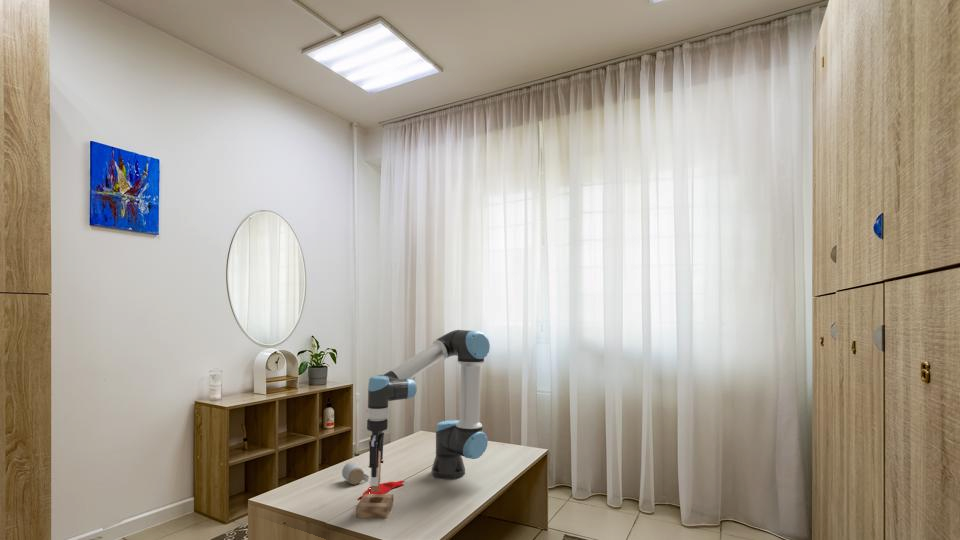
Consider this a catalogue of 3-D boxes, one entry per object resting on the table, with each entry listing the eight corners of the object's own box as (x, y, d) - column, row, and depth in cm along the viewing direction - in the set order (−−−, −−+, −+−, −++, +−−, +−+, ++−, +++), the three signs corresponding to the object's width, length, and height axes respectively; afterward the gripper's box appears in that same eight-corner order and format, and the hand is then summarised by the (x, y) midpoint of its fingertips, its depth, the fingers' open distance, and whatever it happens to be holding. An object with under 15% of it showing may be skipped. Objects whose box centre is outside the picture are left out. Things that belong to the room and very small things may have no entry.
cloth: (400, 479, 210) (400, 473, 210) (417, 488, 200) (417, 482, 200) (344, 494, 193) (344, 488, 193) (360, 504, 183) (360, 498, 183)
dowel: (380, 489, 177) (381, 450, 179) (378, 492, 174) (379, 453, 176) (372, 489, 178) (373, 450, 179) (370, 492, 175) (371, 452, 176)
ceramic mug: (348, 487, 199) (349, 468, 199) (341, 481, 205) (342, 462, 206) (372, 482, 205) (373, 464, 205) (364, 476, 211) (365, 458, 212)
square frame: (393, 505, 181) (393, 494, 181) (386, 518, 170) (387, 506, 170) (364, 504, 181) (364, 493, 182) (356, 517, 170) (356, 505, 171)
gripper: (373, 413, 186) (371, 475, 184) (361, 423, 170) (359, 491, 168) (392, 414, 186) (390, 476, 184) (382, 424, 170) (380, 492, 168)
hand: (375, 483), depth 176 cm, fingers closed on dowel, 3 cm apart
